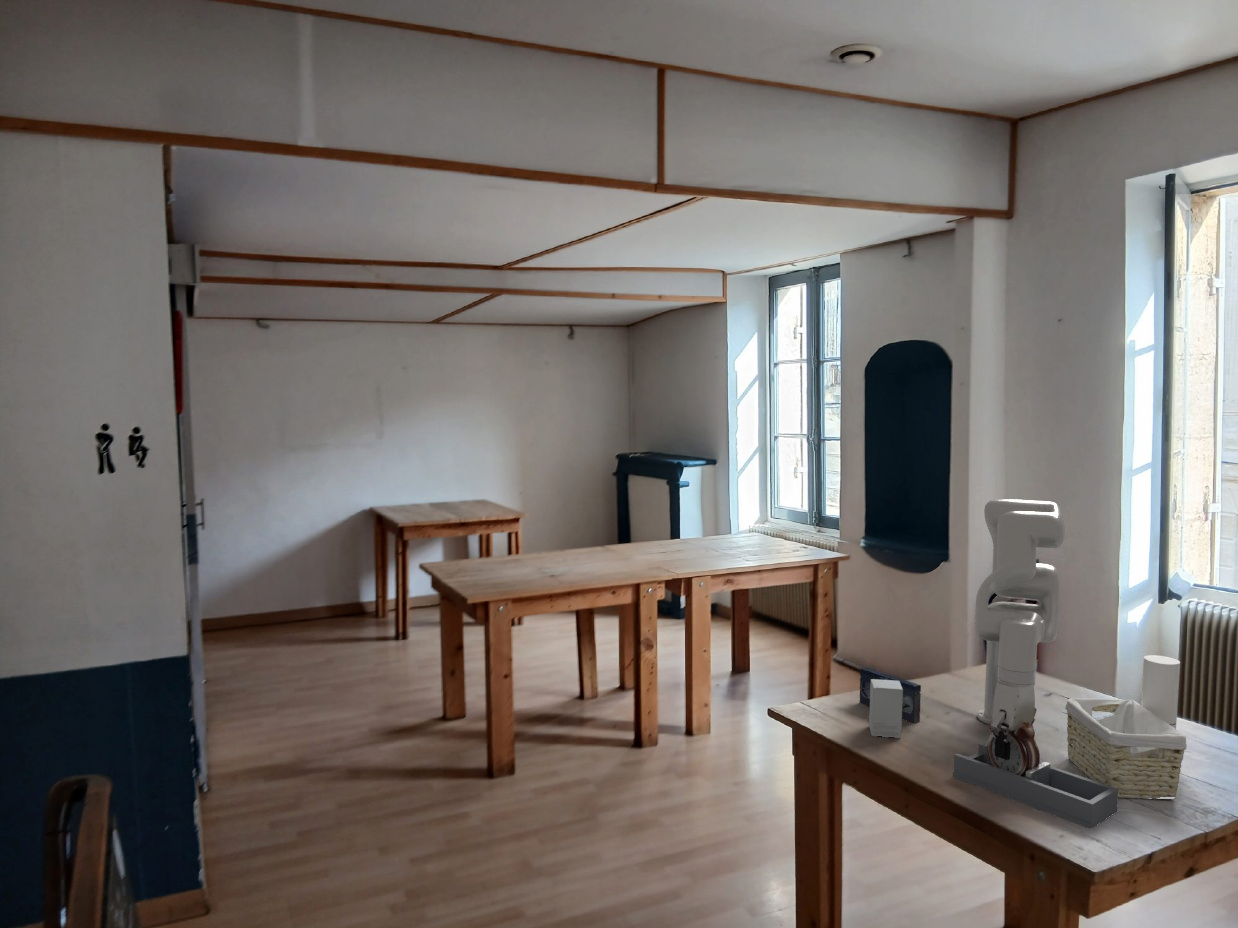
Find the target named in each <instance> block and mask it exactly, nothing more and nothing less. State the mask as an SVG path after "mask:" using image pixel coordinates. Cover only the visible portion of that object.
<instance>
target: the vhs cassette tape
mask: <svg viewBox="0 0 1238 928" xmlns="http://www.w3.org/2000/svg"><path fill="white" fill-rule="evenodd" d="M859 671H860V672H859V673H860V674H859V676H860V678H859V704H861V705H863V706H866V707H869V708H870V684H871V679H878V680H895V681H900V684H901V686H902V689H903V697H902V720H903V719H904V721H906V720H907V722H909V723H911V722H912V723H911V724H916V723H918V722H920V720H921V694H922V693H921V692H922V691H921V690H922V686H921V684H918V683H915V682H912V681H909V680H906V679H903V678H900V677H898V676H893V675H890V674H888V673H884V672H881V671H879V670H876V669H875V670H874V669H871V668H868V667H862V668H860V670H859Z"/></svg>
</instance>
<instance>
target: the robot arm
mask: <svg viewBox="0 0 1238 928" xmlns="http://www.w3.org/2000/svg"><path fill="white" fill-rule="evenodd" d="M983 511H984V520H985V524H986V527H987V529H988V531H989V534H990V536H991V540H992V545H993V548H992V572H991V573H990V574H989V575H988V576H987V577H986V578H985V579H984V580H983V582H982V583H981V584H980V586H979V589H978V590H977V593H976V597H975V609H974V610H975V611H974V612H975V614H974V626H975V633H976V634H977V636H978V637H979V638H980V639H981V640H984V641H986V659H985V660H986V661H985V682H984V683H985V687H984V688H985V689H984V705H983V706H984V707H983V708H982V709H979V711H977V718H978V719H979V720H980V721H981V722H982V723H985V724H987V725H989V726H990V722H991V721H992V729H993V734H994V739H995V756H996V757H999V758H1002V759H1005V760H1009V759H1010V747H1011V742H1009V739H1010V736H1011V733H1012V731H1014V730H1017V729H1019V728H1020V726H1021V725H1022V724H1024V722H1025V723H1026V722H1028V723H1029V725H1031V726H1032V727H1033V728H1034V726H1033V725H1034V723H1035V720H1036V718H1035V717H1036V713H1037V708H1036V705H1035V704H1036V700H1035V699H1036V698H1035V697H1036V696H1035V694H1036V693H1035V692H1036V691H1035V685H1036V679H1037V678H1036V677H1037V676H1036V675H1037V656H1038V654H1037V653H1038V651H1037V650H1038V644H1039V643H1052V642H1053V641H1055V640H1056V639H1057V638H1058V634H1059V625H1060V624H1059V623H1060V607H1061V606H1060V603H1061V577H1060V573H1059V571H1058V569H1057V567H1055V566H1054V565H1051V564H1048V563H1040V562H1039V563H1038V562H1037V548H1045V549H1058V548H1060V547H1061V546H1062V545H1063V543H1064V540H1065V533H1066V532H1065V531H1066V530H1065V528H1066V527H1065V521H1064V520H1065V519H1064V517H1063V515H1062V510H1061V508H1060V506H1059V504H1057V503H1056V502H1053V501H1046V500H1029V499H1028V500H1027V499H1016V498H1015V499H1014V498H1013V499H1012V498H1008V499H1007V498H998V499H992V500H989V501H988V502H986V504H985V505H984V510H983ZM994 594H995V595H997V596H999V597H1001V598H1008V599H1018V600H1029V601H1036V602H1038V603H1039V604H1037V603H1036V604H1033V603H1023V602H1013V601H995V602H992V603H989V601H990V598H991V597H992V596H993V595H994ZM1003 724H1006V725H1009V727H1006V726H1003ZM1002 729H1003V730H1006V731H1007V732H1006V735H1005V734H1004V733H1003V731H1002Z"/></svg>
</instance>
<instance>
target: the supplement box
mask: <svg viewBox="0 0 1238 928" xmlns="http://www.w3.org/2000/svg"><path fill="white" fill-rule="evenodd" d="M902 697H903V689H902V686H901V684H900V681H895V680H878V679H871V684H870V707H869V716H868V717H869V718H868V719H869V722H868V727H869V731H870V734H871V737H877V736H882V737H881V738H888V737H895V738H894V739H901V738H902V728H903V727H902V724H903V723H902V721H903V719H902Z"/></svg>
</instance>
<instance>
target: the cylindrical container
mask: <svg viewBox="0 0 1238 928" xmlns="http://www.w3.org/2000/svg"><path fill="white" fill-rule="evenodd" d="M1142 664H1143V666H1142V667H1143V668H1142V684H1141V685H1142V686H1141V699H1140V701H1141V702H1140V703H1141V704H1140V705H1141V706H1143V707H1144V708H1146V709H1147V710H1148V711H1150V712H1151V713H1153V714H1154V715H1155V716H1157V717H1159V718H1160V719H1162V720H1163V721H1165V722H1166V723H1168V724H1169V725H1171V726H1172V727H1174V728H1175V729H1176V730H1177V721H1178V720H1177V719H1178V705H1179V703H1178V701H1179V685H1180V670H1181V669H1180V668H1181V661H1180V660H1178V659H1176V658H1173V657H1170V656H1164V655H1154V654H1149V655H1148V654H1147V655H1144V656H1143V663H1142Z"/></svg>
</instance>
